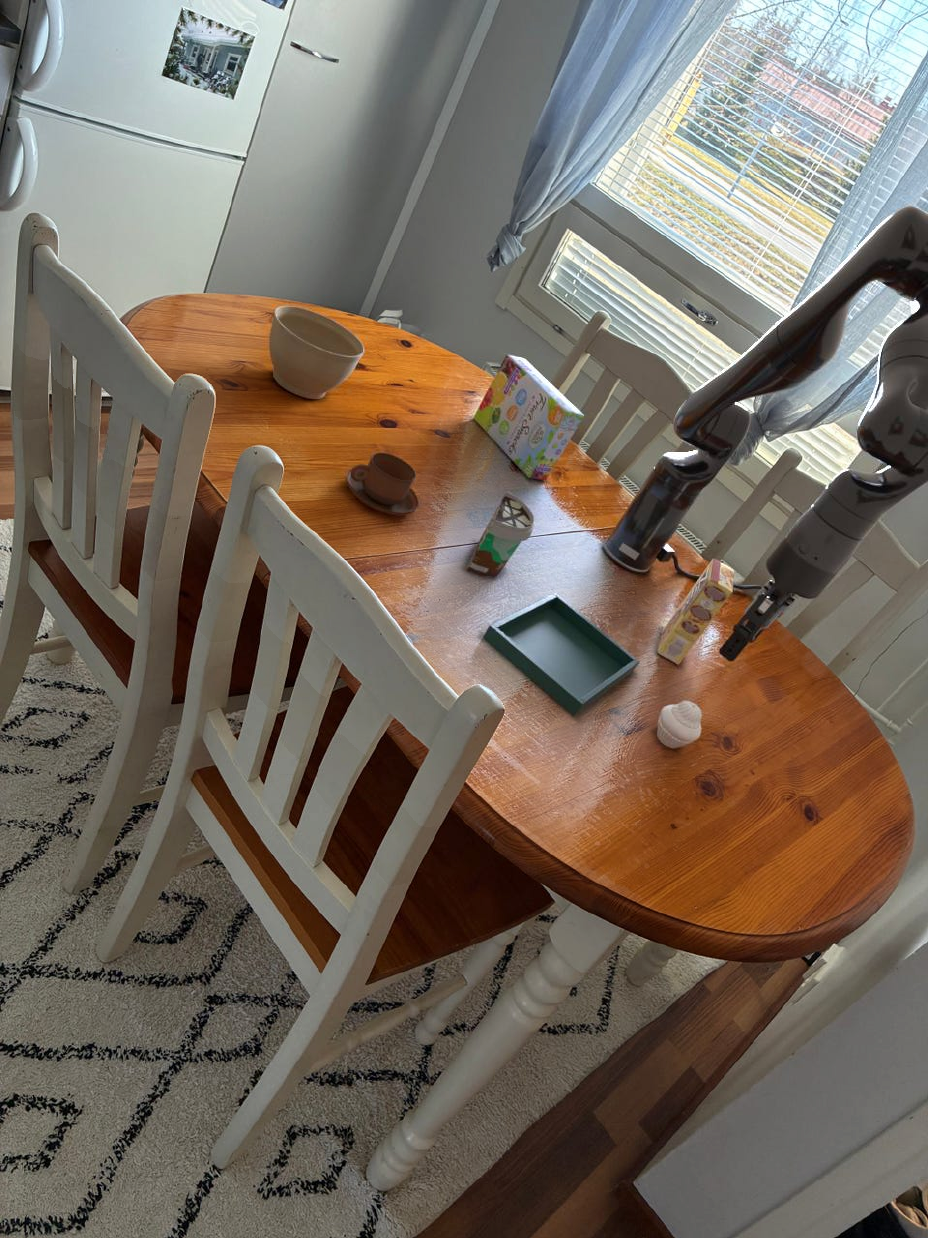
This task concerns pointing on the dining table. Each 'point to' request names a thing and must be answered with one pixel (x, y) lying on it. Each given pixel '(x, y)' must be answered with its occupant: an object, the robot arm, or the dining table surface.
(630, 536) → the robot arm
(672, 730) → the muffin
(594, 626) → the tray
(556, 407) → the snack box
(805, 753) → the dining table surface
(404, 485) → the cup and saucer
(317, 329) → the planter bowl
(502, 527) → the food container
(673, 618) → the candy box
